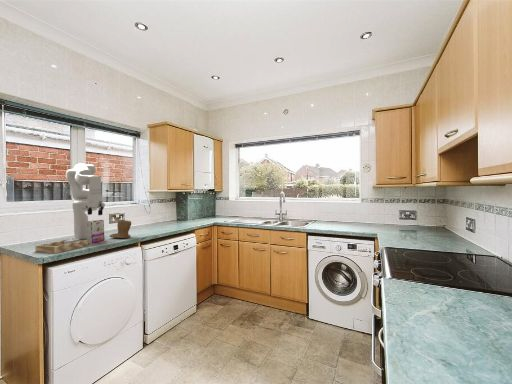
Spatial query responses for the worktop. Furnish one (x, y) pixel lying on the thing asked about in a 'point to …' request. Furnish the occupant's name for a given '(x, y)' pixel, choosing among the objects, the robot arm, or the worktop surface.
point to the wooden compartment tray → (59, 246)
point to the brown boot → (122, 229)
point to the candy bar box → (95, 231)
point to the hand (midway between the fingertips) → (95, 214)
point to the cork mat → (97, 242)
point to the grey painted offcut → (71, 241)
